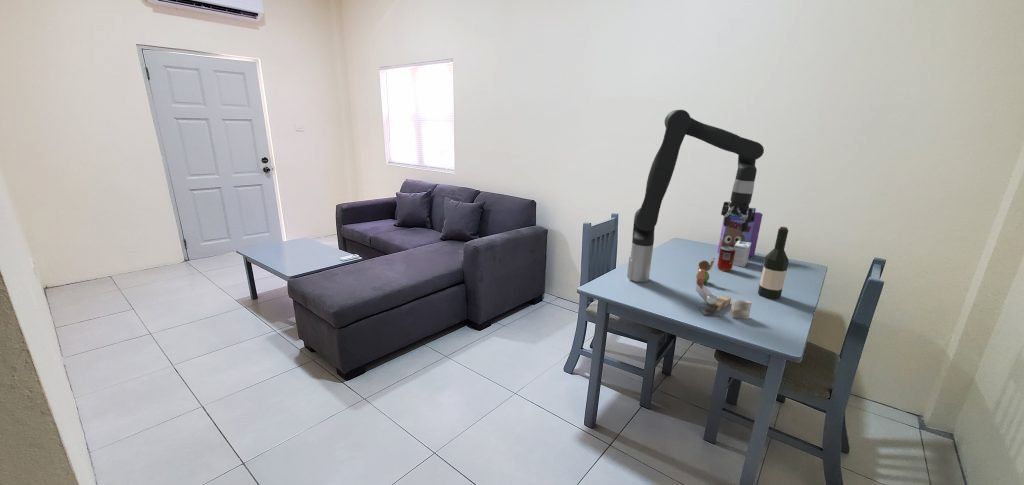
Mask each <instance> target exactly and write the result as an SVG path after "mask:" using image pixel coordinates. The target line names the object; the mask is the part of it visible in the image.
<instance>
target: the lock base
mask: <svg viewBox="0 0 1024 485" xmlns="http://www.w3.org/2000/svg"><path fill="white" fill-rule="evenodd" d="M731 299H732V298H731V297H729V296H726V295H721V296H720V297H717V302H716V306H709V305H707V304H706V303H705V306H698V310H699V311H700V313H701V314H702V315H703V316H704V317H705V316H707V317H721V313H720V312H719V311H720V310H722V309H723V308H725V307H726V306H728V305H730V304H731V307H730V312H729V316H730V317H731V318H732V319H750V314H751V308H752V305H753V303H752V301H750V300H740V299H732V302H731Z"/></svg>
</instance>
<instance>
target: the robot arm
mask: <svg viewBox="0 0 1024 485" xmlns="http://www.w3.org/2000/svg"><path fill="white" fill-rule="evenodd" d="M664 127H665V132H664V134H663V140H662V142H661V145H660V147H659V149H658V150H657V153H656V155H655V157H654V159H653V161H652V163H651V167H650V169H649V172H648V175H647V180H646V186H645V194H644V197H643V198H644V199H643V202H642V204H641V206H640V208H639V209H637V210H636V212H635V214H634V217H633V218H634V219H633V226H632V227H633V229H632V240H631V248H630V249H631V251H630V256H629V258H628V266H627V275H626V276H627V279H628V280H629V281H630V282H631V281H632V282H636V283H647V282H649V281H650V275H651V268H652V267H651V265H652V259H653V251H654V242H655V241H654V240H655V226H656V225H657V224H658V219H659V213H660V211H661V210H660V209H661V205H662V204H663V203H662V202H663V200H664V197H665V195H666V192H667V190H668V187H669V185H670V182H671V180H672V177H673V174H674V171H675V168H676V164H677V161H678V158H679V152H680V150H681V146H682V144H683V141H684V139H685V137H686V136H688V137H689V136H690V137H692V138H695V139H698V140H700V141H702V142H705V143H707V144H709V145H711V146H713V147H716V148H719V149H721V150H723V151H725V152H729V153H733V154H736V155H737V170H736V173H735V179H734V182H733V185H732V189H731V190H732V191H731V195H730V201H724V202H723V205H722V208H721V213H720V215H721V216H723V219H724V226H729V222H730V218H729V217H731V216H732V215H733V214H736V215H738V216H740V218H741V219H742V221H743V223H742V226H741V231H742V232H745V231H746V230H747V227H748V223H751V222H754V217H755V212H757V211H756V208H755V207H750V204H751V202H752V198H753V194H754V188H755V181H756V175H757V172H758V171H757V167H756V163H757V162H756V161H757V160H758V159H760V158H761V157H762V156H763V154H764V153H765V152H764V151H765V150H764V146H763V145H762V143H759V142H758V141H755V140H752V139H749V138H745V137H742V136H740V135H738V134H736V133H733V132H731V131H728V130H726V129H722V128H720V127H716V126H714V125H713V126H712V125H709V124H706V123H704V122H701V121H699V120H696V119H694V118H693V117H691V115H690V113H689V112H687V110H685V109H675V110H672V111H670V112H669V113H668V114H667V115H666V117H665V118H664ZM747 212H748V213H747ZM724 217H725V218H724Z"/></svg>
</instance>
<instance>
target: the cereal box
mask: <svg viewBox="0 0 1024 485" xmlns="http://www.w3.org/2000/svg"><path fill="white" fill-rule="evenodd" d="M747 213H748V211H747ZM724 218H725V217H724V216H723V220H722V224H721V229H720V230H721V232H720V235H719V236H720V237H719V243H718V248H717V253H718V254H719V253H720V248H721V247H723V246H730V247H733V248H734V245H735V244H736V243H737V241H743V242H750V243H751V247H750V251H749V256H748V257H753V258H754V257H755V253H756V248H757V245H758V244H757V243H758V239H759V233H760V230H761V224H762V219H763V213H762V212H757V211H755V217H754V222H751V223H748V227H747V230H746V231H745V232H742V231H741V226H742V223H743V221H742V219H741V218H740V216H738V215H736V214H733V215H732V216H731V217H729V218H730V222H729V226H724Z"/></svg>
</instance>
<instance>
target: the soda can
mask: <svg viewBox="0 0 1024 485" xmlns="http://www.w3.org/2000/svg"><path fill="white" fill-rule="evenodd" d="M718 254H719V255H718V259H717V268H718V269H717V270H719V271H722V272H731V270H732V269H733V266H734V265H733V261H734V256H735V249H734V248H733V247H730V246H723V247H721V248H720V253H718Z"/></svg>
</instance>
